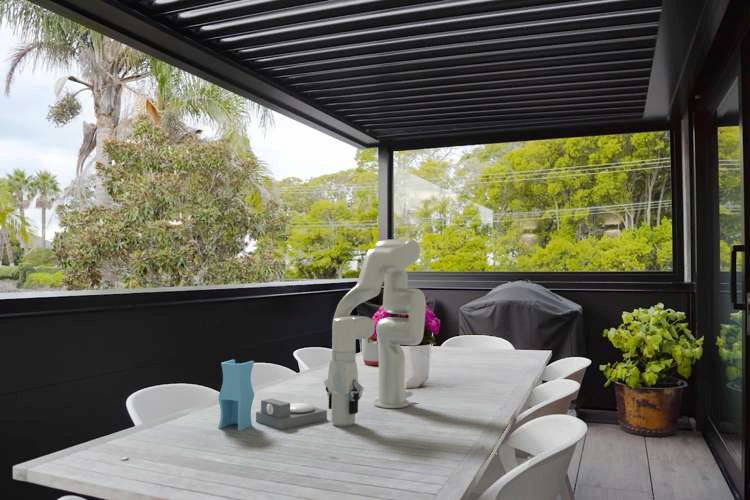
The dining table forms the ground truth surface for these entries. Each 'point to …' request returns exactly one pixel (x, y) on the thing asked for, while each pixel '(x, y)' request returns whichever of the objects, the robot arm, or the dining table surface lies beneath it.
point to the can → (341, 409)
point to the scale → (288, 414)
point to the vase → (236, 394)
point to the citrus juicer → (370, 351)
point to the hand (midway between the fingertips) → (343, 410)
